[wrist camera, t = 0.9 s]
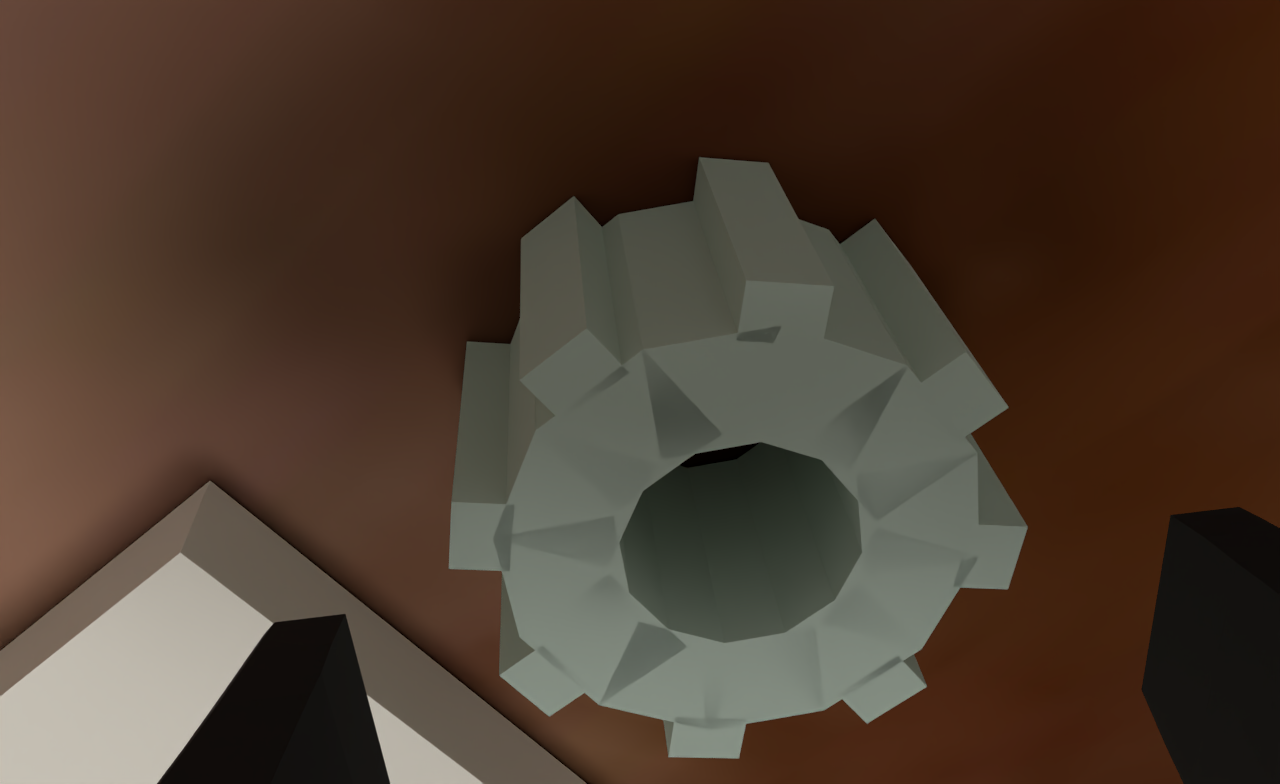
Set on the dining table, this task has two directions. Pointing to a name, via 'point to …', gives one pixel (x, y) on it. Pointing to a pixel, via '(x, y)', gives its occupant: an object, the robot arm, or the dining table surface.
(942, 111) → the dining table surface
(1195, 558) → the robot arm
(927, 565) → the sage gear
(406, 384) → the dining table surface
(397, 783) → the gear board
